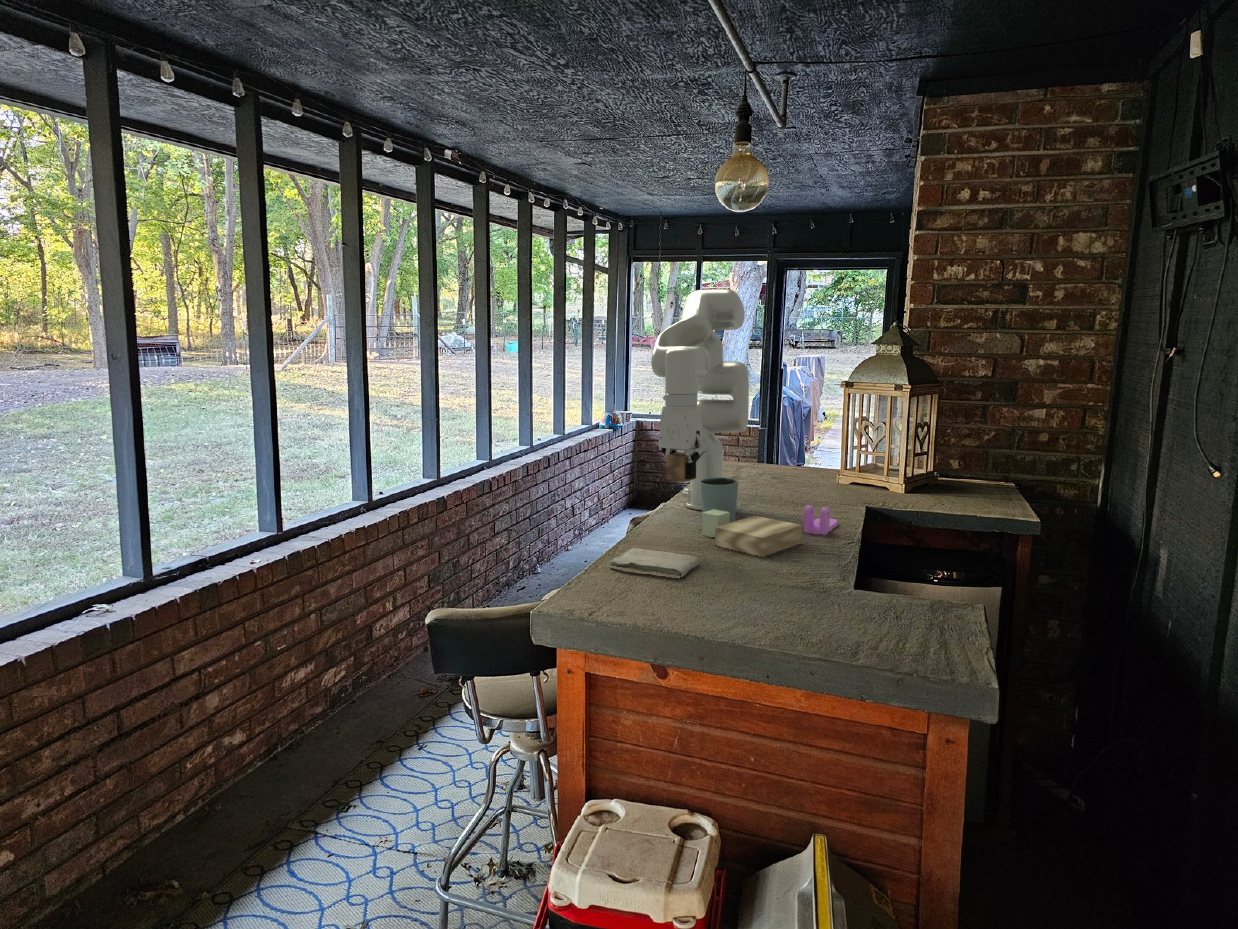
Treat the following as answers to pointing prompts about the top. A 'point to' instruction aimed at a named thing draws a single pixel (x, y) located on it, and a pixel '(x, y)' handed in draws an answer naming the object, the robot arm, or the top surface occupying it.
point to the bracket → (818, 521)
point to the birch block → (758, 535)
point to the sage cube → (713, 521)
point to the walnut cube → (677, 467)
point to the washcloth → (655, 561)
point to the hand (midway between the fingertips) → (681, 476)
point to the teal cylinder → (719, 495)
